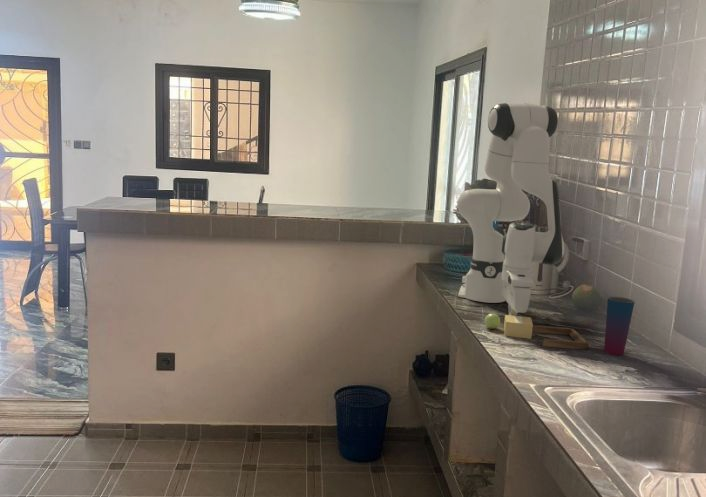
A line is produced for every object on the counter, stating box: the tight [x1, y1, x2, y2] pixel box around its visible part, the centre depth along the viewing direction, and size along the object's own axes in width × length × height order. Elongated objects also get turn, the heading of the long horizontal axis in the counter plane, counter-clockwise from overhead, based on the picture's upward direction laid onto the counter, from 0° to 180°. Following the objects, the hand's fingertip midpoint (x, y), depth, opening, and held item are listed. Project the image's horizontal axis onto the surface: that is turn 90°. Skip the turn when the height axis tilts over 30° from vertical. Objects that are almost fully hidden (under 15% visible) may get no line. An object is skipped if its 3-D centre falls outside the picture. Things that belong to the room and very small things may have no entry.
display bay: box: [532, 324, 590, 350], centre depth 185 cm, size 14×12×2 cm
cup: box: [603, 296, 636, 356], centre depth 176 cm, size 7×7×15 cm
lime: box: [484, 313, 501, 330], centre depth 192 cm, size 5×5×5 cm
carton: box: [503, 314, 534, 340], centre depth 189 cm, size 8×8×4 cm
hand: (512, 319), depth 198 cm, fingers closed
